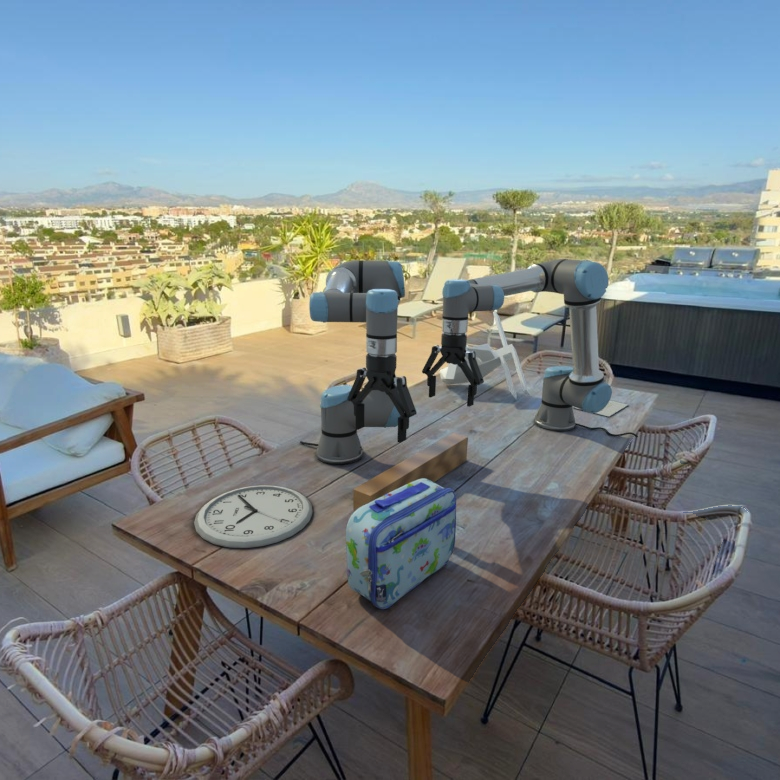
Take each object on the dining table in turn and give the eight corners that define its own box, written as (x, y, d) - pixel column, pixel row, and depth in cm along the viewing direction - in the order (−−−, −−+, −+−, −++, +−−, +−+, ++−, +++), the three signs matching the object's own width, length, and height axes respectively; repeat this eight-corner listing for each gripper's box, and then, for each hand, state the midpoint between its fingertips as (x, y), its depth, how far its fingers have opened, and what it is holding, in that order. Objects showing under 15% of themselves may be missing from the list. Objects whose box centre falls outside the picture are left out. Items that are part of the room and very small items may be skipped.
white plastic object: (461, 429, 252) (437, 405, 227) (444, 352, 274) (420, 323, 250) (535, 404, 240) (518, 377, 215) (510, 326, 262) (492, 293, 237)
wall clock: (308, 539, 124) (178, 544, 121) (308, 545, 124) (179, 550, 122) (315, 481, 152) (209, 483, 150) (315, 486, 153) (210, 488, 150)
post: (451, 455, 175) (452, 432, 173) (466, 460, 172) (468, 436, 169) (353, 517, 137) (353, 489, 134) (370, 525, 134) (370, 495, 131)
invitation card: (608, 416, 214) (573, 407, 224) (608, 416, 214) (573, 408, 224) (628, 404, 229) (594, 396, 238) (628, 405, 229) (594, 397, 238)
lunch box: (375, 622, 100) (376, 527, 94) (339, 595, 108) (338, 505, 101) (459, 565, 118) (465, 481, 112) (424, 545, 125) (427, 465, 119)
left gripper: (333, 348, 132) (334, 427, 138) (414, 365, 118) (412, 451, 124) (352, 344, 138) (352, 419, 144) (432, 359, 124) (429, 441, 130)
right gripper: (412, 329, 159) (410, 395, 165) (486, 340, 145) (481, 412, 151) (425, 326, 165) (423, 390, 171) (498, 336, 151) (492, 406, 157)
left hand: (380, 434), depth 134 cm, fingers open, 13 cm apart
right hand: (450, 400), depth 161 cm, fingers open, 13 cm apart
